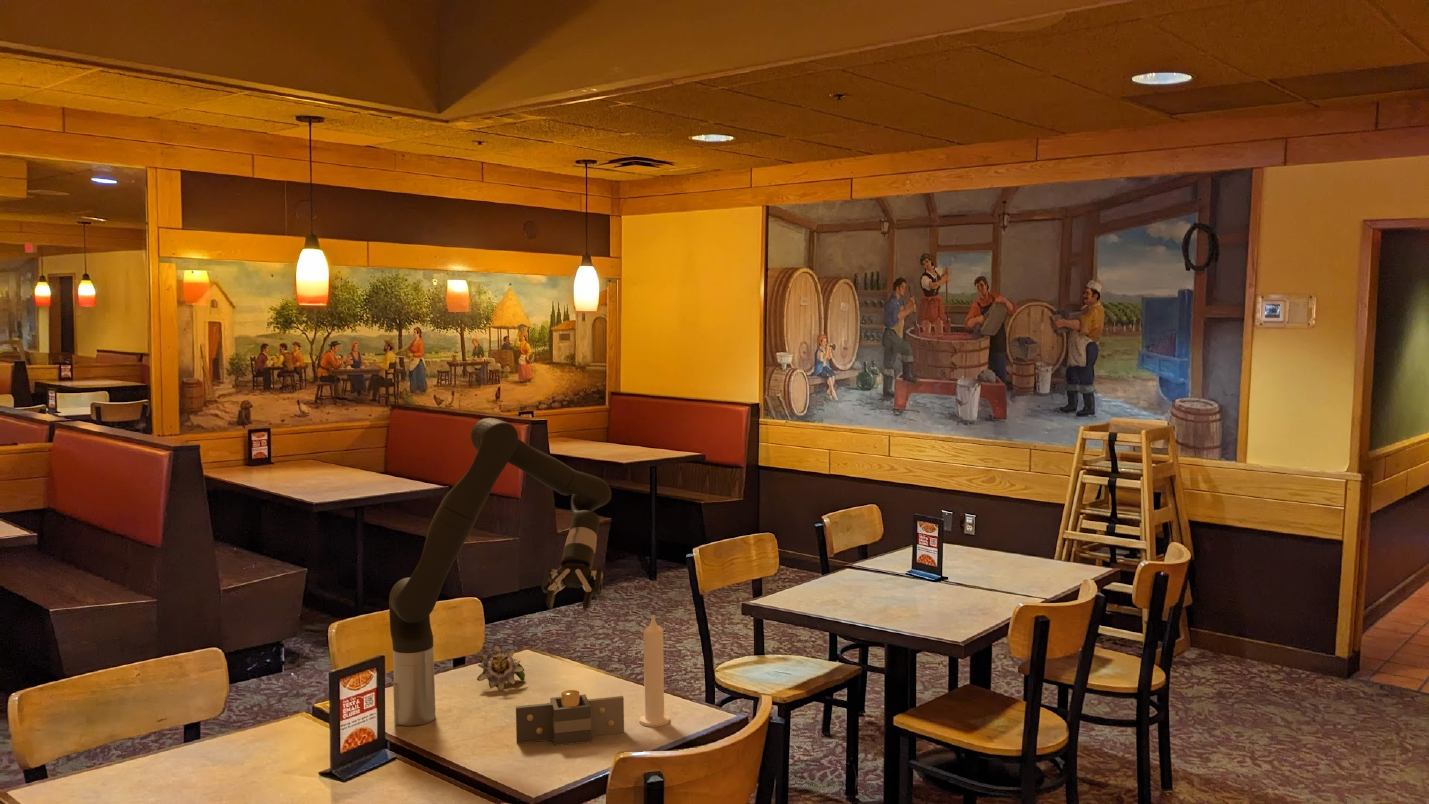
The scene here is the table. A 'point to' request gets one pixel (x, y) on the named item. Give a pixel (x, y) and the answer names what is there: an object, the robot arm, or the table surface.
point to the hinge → (569, 720)
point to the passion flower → (500, 668)
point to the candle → (654, 677)
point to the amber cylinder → (570, 698)
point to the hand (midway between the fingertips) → (567, 607)
